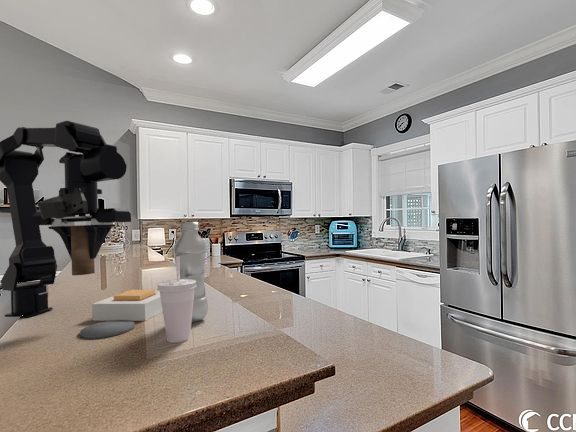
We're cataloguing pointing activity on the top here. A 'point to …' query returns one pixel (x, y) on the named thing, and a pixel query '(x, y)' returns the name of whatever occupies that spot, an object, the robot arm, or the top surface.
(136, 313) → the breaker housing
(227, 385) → the top surface
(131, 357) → the top surface
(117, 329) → the slate mat
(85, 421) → the top surface
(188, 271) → the plastic bottle
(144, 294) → the button
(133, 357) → the top surface
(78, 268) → the brown cylindrical post
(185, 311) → the smoothie
